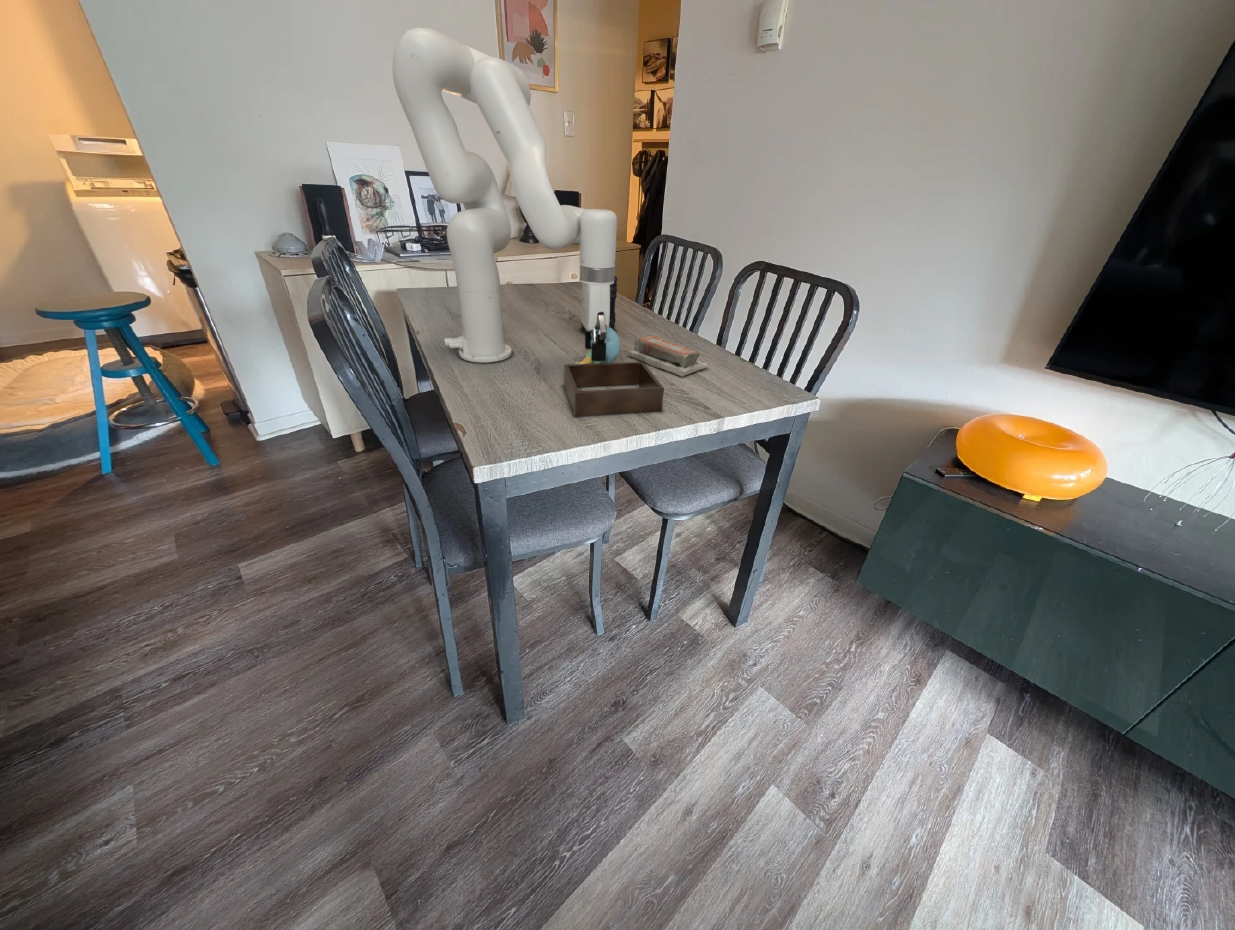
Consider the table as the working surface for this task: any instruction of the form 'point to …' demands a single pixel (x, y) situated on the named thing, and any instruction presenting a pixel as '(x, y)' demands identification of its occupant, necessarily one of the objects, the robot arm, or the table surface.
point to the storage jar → (612, 305)
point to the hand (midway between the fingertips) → (594, 353)
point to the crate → (612, 399)
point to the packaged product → (666, 355)
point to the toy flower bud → (611, 348)
